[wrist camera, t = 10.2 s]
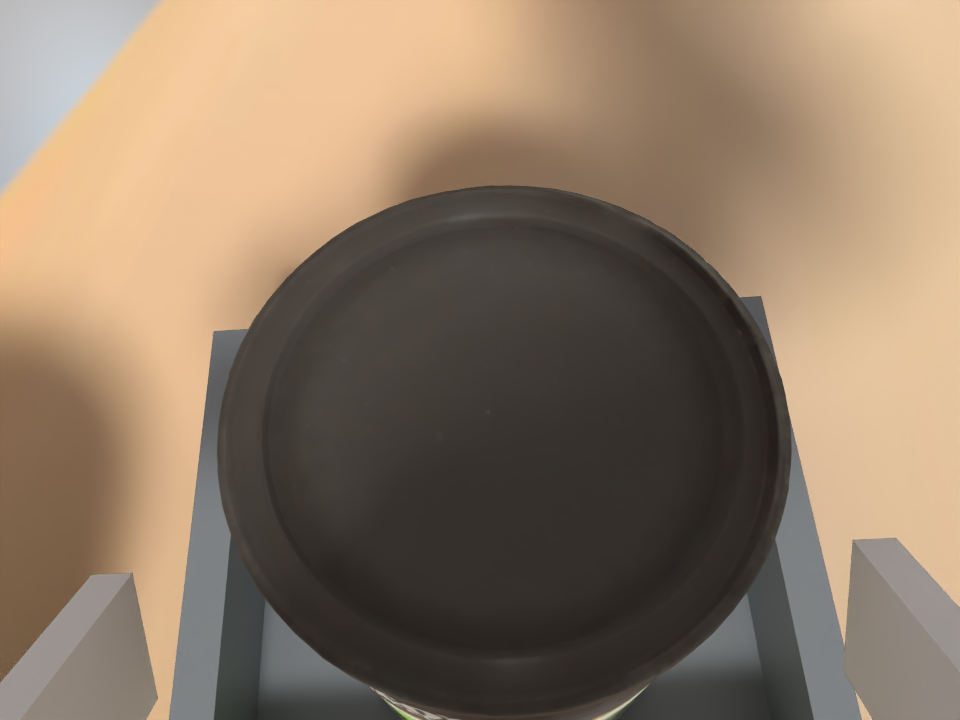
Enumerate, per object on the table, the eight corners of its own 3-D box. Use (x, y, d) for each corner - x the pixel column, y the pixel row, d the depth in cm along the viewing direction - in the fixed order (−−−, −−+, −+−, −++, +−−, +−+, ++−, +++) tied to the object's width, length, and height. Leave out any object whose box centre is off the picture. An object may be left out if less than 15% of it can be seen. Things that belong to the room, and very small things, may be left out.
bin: (718, 389, 34) (761, 296, 28) (809, 852, 27) (896, 865, 20) (269, 417, 34) (213, 331, 28) (234, 882, 27) (148, 902, 21)
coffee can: (510, 848, 24) (497, 880, 12) (288, 588, 28) (103, 406, 16) (737, 591, 27) (915, 403, 15) (510, 388, 31) (501, 104, 19)
